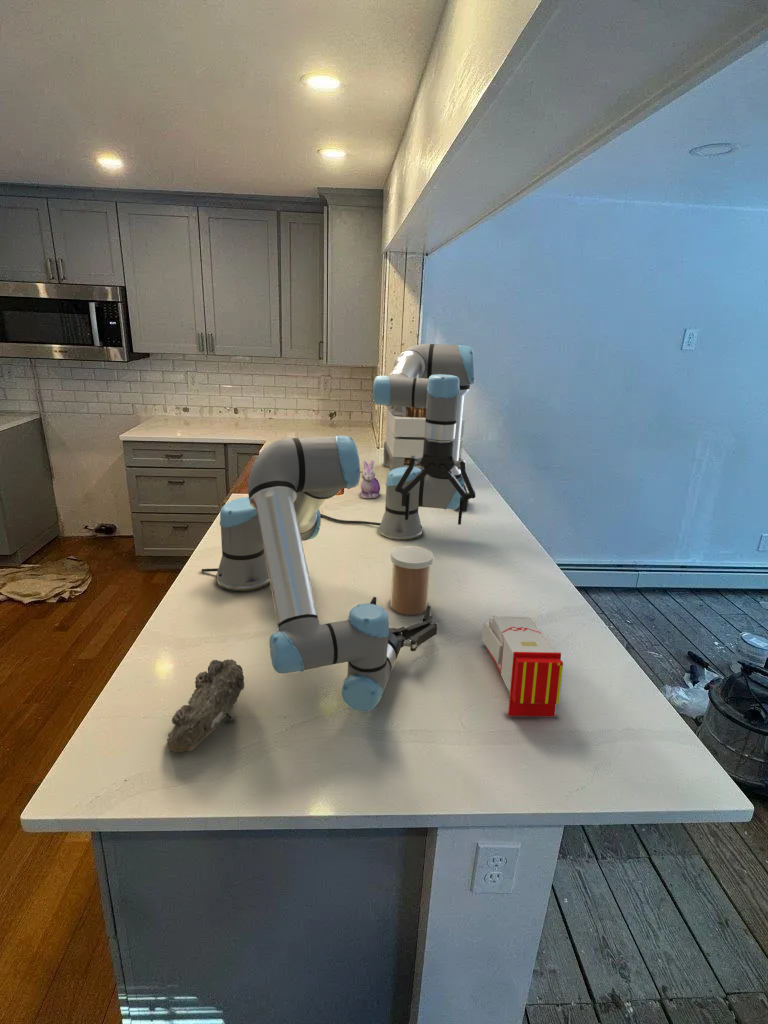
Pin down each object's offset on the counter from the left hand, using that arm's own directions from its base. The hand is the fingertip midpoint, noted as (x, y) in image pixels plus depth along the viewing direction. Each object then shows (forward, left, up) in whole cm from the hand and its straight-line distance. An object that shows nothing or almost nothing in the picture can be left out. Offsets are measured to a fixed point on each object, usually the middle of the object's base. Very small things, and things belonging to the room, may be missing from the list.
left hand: (401, 606), depth 139 cm
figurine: (-35, +98, -6) cm, 104 cm away
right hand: (+4, +15, +18) cm, 24 cm away
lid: (0, +12, +9) cm, 14 cm away
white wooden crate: (-21, +141, -6) cm, 143 cm away
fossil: (-27, -43, -6) cm, 51 cm away
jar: (0, +12, -6) cm, 13 cm away
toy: (+28, -12, -6) cm, 31 cm away
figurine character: (+2, +99, -6) cm, 99 cm away
